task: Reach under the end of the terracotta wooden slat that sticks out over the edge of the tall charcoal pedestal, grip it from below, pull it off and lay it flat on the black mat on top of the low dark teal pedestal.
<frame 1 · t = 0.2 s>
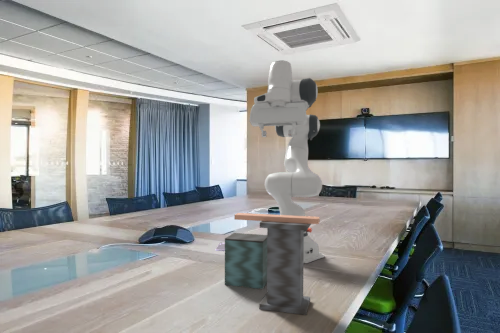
hand: (277, 136, 122), 53 cm above the table, tool tilted 20°, fingers open, 8 cm apart
low pedestal: (247, 282, 128), on the table
mobile phone: (224, 248, 179), on the table
slat: (276, 220, 108), point 26 cm above the table, touching tall pedestal
tall pedestal: (285, 305, 108), on the table
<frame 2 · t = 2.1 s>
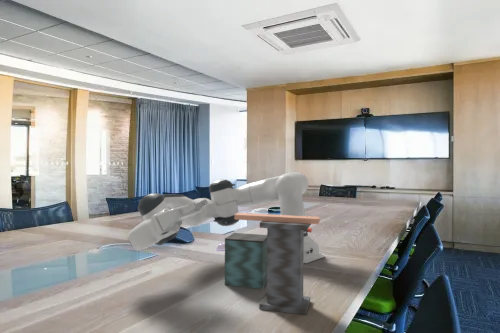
hand: (200, 202, 115), 30 cm above the table, tool pointing upward, fingers open, 8 cm apart
nothing on the table moved.
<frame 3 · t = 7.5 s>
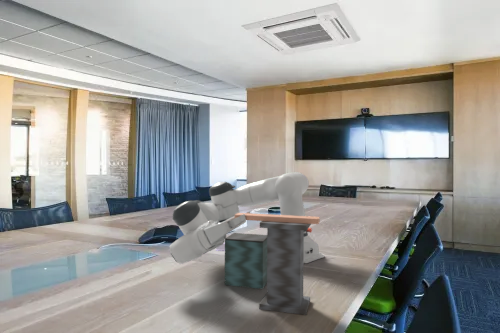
hand: (247, 215, 111), 27 cm above the table, tool pointing upward, fingers closed on slat, 4 cm apart
slat: (276, 220, 108), point 26 cm above the table, touching gripper, tall pedestal
everything else where it was.
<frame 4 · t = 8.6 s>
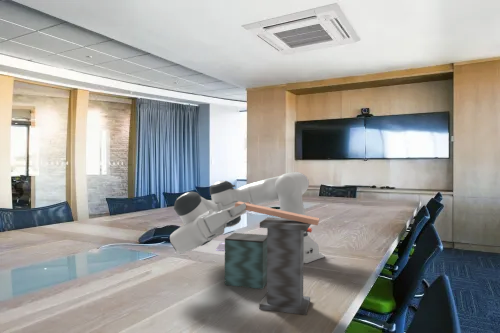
hand: (248, 204, 111), 31 cm above the table, tool pointing upward, fingers closed on slat, 4 cm apart
slat: (276, 215, 108), point 28 cm above the table, tilted 9°, touching gripper, tall pedestal
everything else where it was.
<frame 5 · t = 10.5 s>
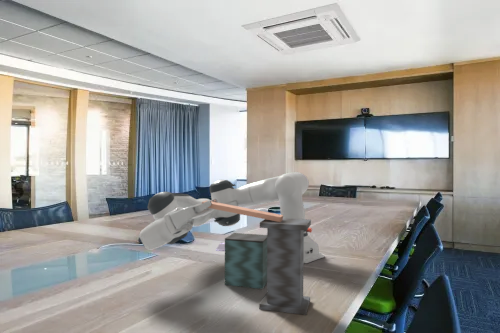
hand: (213, 201, 113), 31 cm above the table, tool pointing upward, fingers closed on slat, 4 cm apart
slat: (241, 213, 111), point 28 cm above the table, tilted 8°, touching gripper
everything else where it was.
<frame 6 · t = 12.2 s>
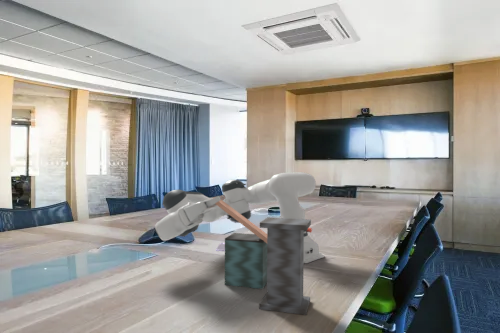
hand: (222, 196, 127), 31 cm above the table, tool pointing upward, fingers closed on slat, 4 cm apart
slat: (241, 221, 126), point 23 cm above the table, tilted 34°, touching gripper, low pedestal
everything else where it was.
when the fingers open (19 cm above the table, at t = 15.8 s): slat stays where it is, resting on low pedestal.
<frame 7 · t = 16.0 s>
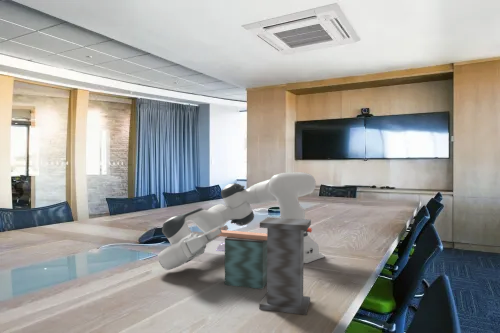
hand: (223, 228, 130), 19 cm above the table, tool pointing upward, fingers open, 5 cm apart
slat: (246, 237, 127), point 17 cm above the table, touching low pedestal
everything else where it was.
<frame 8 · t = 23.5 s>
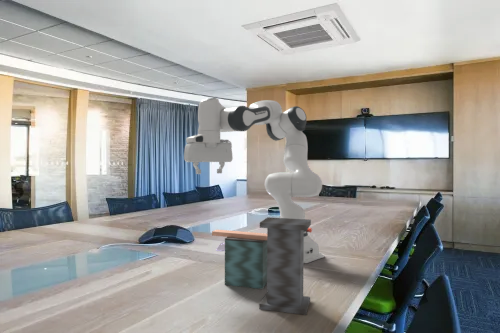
hand: (209, 173, 139), 39 cm above the table, tool pointing down, fingers open, 8 cm apart
nothing on the table moved.
at the end: slat inside the target area on the low pedestal (0.8 cm from its centre), point 16.6 cm above the low pedestal's base; slat tilted 0°; the gripper is holding nothing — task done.
